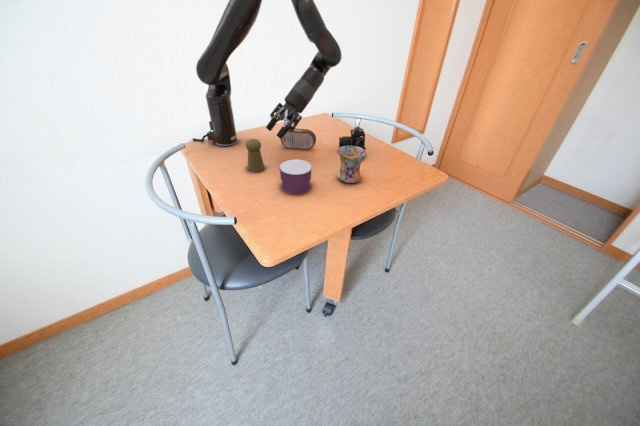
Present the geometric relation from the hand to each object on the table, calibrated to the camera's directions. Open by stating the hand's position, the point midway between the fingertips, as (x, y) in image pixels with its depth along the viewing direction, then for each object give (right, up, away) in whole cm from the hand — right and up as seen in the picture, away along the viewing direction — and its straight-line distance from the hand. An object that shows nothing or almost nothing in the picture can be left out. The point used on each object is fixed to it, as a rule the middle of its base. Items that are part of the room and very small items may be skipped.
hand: (273, 133), depth 97 cm
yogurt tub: (+9, -20, -6) cm, 22 cm away
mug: (+27, -16, +1) cm, 31 cm away
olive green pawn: (-7, -12, +4) cm, 15 cm away
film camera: (+30, -3, +19) cm, 36 cm away
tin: (+7, -1, +20) cm, 21 cm away
